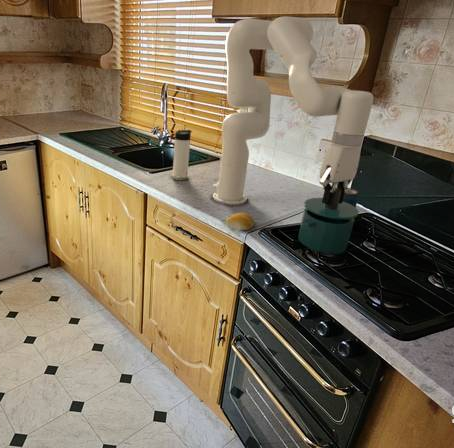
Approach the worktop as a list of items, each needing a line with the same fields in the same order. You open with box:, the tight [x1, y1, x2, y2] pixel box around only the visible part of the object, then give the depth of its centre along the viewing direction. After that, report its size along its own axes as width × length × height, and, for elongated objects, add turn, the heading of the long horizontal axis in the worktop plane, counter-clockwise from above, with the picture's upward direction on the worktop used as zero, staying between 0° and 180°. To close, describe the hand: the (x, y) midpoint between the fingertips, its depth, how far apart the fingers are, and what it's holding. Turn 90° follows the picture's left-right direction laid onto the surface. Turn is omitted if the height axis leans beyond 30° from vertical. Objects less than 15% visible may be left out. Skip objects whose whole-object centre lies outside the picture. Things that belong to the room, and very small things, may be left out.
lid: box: [303, 186, 359, 219], centre depth 115 cm, size 15×15×7 cm
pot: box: [298, 207, 355, 256], centre depth 119 cm, size 14×19×10 cm
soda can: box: [343, 187, 359, 208], centre depth 132 cm, size 7×7×12 cm
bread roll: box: [225, 212, 255, 231], centre depth 129 cm, size 8×9×4 cm
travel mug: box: [171, 129, 193, 181], centre depth 166 cm, size 6×7×20 cm
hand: (332, 202), depth 115 cm, fingers closed on lid, 3 cm apart
